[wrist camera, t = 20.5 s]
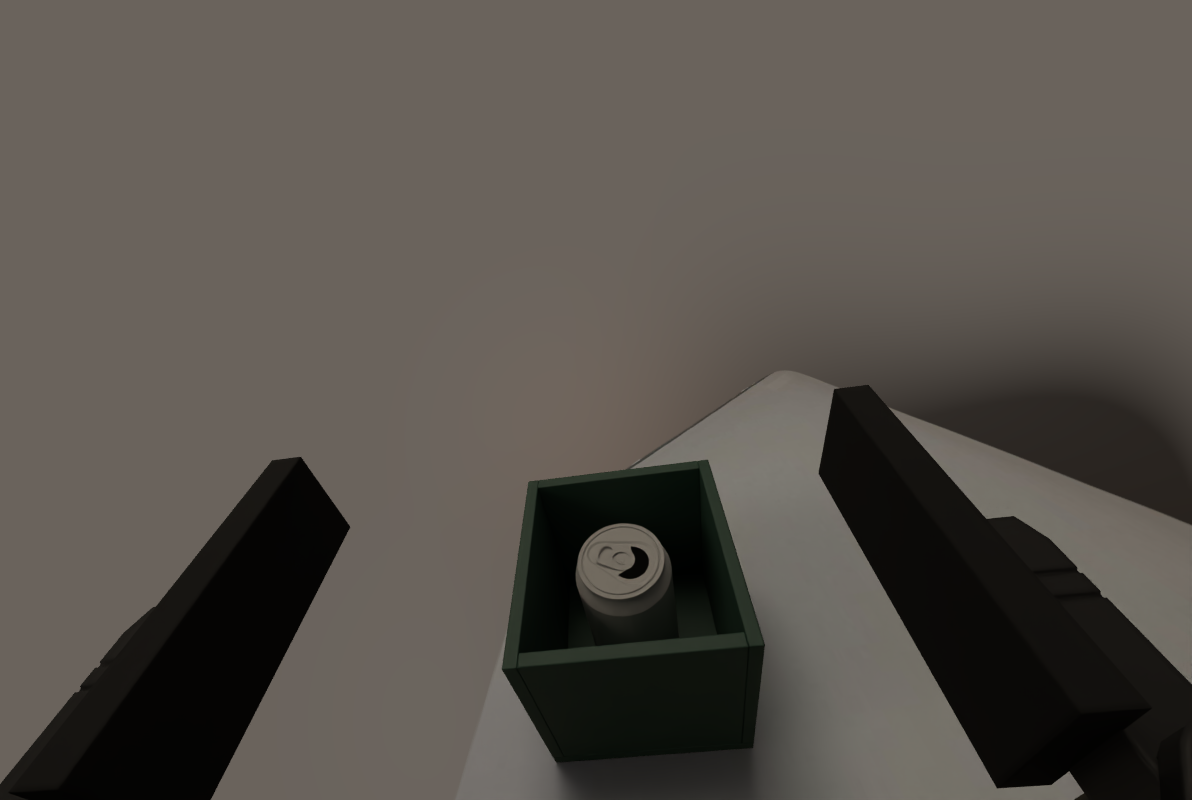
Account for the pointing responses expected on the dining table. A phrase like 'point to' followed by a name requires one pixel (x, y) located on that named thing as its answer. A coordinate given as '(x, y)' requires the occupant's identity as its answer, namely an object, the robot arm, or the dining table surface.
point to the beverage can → (626, 586)
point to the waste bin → (641, 669)
